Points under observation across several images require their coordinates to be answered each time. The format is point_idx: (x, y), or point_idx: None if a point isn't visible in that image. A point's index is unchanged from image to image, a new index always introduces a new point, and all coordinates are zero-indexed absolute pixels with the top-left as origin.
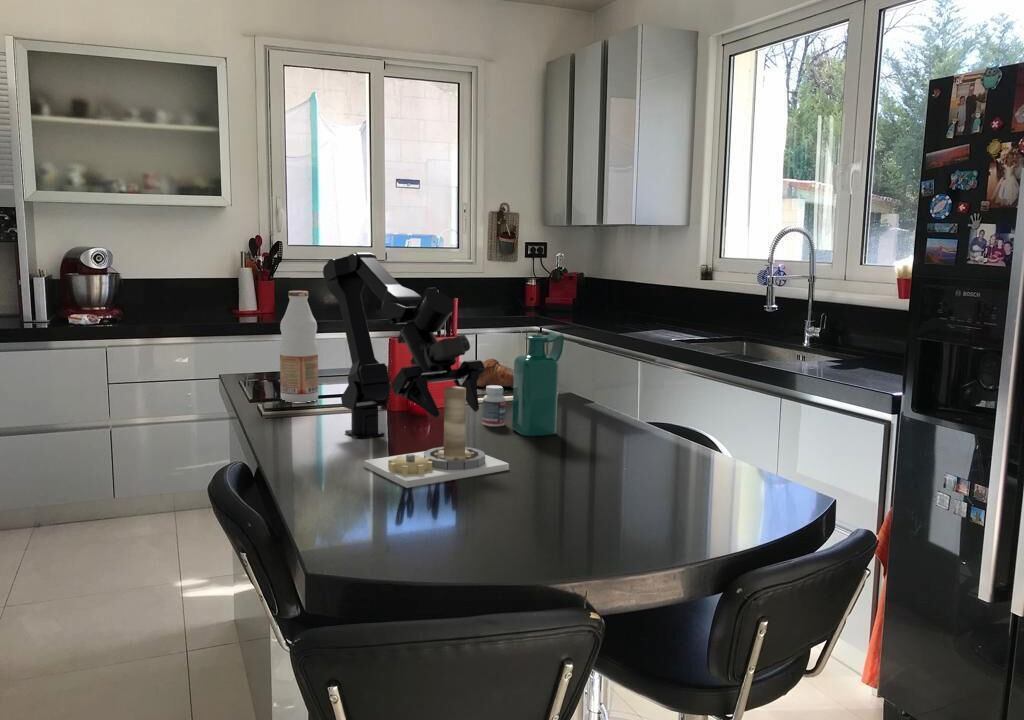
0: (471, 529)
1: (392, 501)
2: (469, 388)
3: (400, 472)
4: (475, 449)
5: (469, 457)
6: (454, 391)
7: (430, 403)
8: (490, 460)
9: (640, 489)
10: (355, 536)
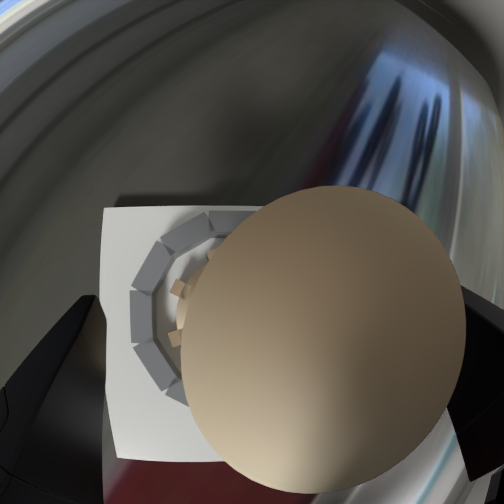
0: (367, 35)
1: (438, 168)
2: (40, 468)
3: None
4: (137, 330)
5: (215, 249)
6: (415, 222)
7: (479, 298)
8: (125, 266)
9: (51, 34)
10: (472, 107)
